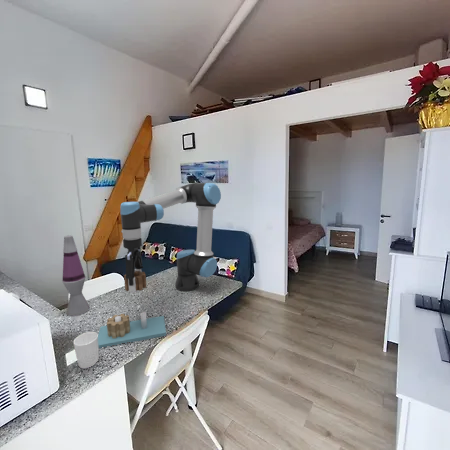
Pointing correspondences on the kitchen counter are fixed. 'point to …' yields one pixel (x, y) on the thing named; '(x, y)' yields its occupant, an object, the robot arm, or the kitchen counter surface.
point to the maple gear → (118, 326)
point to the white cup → (87, 349)
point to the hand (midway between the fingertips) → (135, 286)
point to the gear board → (134, 331)
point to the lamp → (73, 278)
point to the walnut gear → (137, 281)
